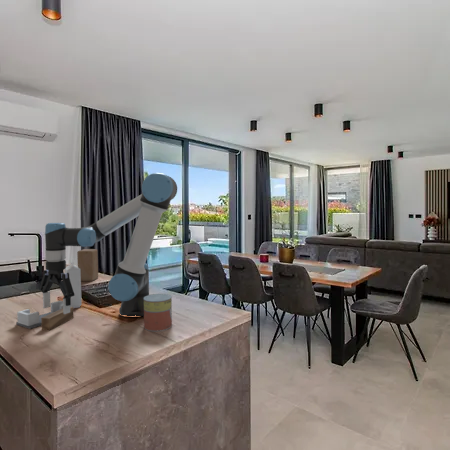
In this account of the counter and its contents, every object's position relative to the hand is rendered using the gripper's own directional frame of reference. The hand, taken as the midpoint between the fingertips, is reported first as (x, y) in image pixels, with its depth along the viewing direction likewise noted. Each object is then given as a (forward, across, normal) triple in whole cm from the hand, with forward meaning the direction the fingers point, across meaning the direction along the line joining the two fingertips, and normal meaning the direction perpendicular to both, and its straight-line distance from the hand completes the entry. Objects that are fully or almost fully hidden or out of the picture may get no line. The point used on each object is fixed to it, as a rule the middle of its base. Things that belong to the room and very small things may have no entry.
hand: (56, 310), depth 139 cm
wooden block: (+6, +58, -61) cm, 84 cm away
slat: (+6, -1, 0) cm, 6 cm away
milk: (+6, +14, -18) cm, 24 cm away
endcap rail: (+6, +8, 0) cm, 10 cm away
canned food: (+5, -40, -18) cm, 44 cm away
